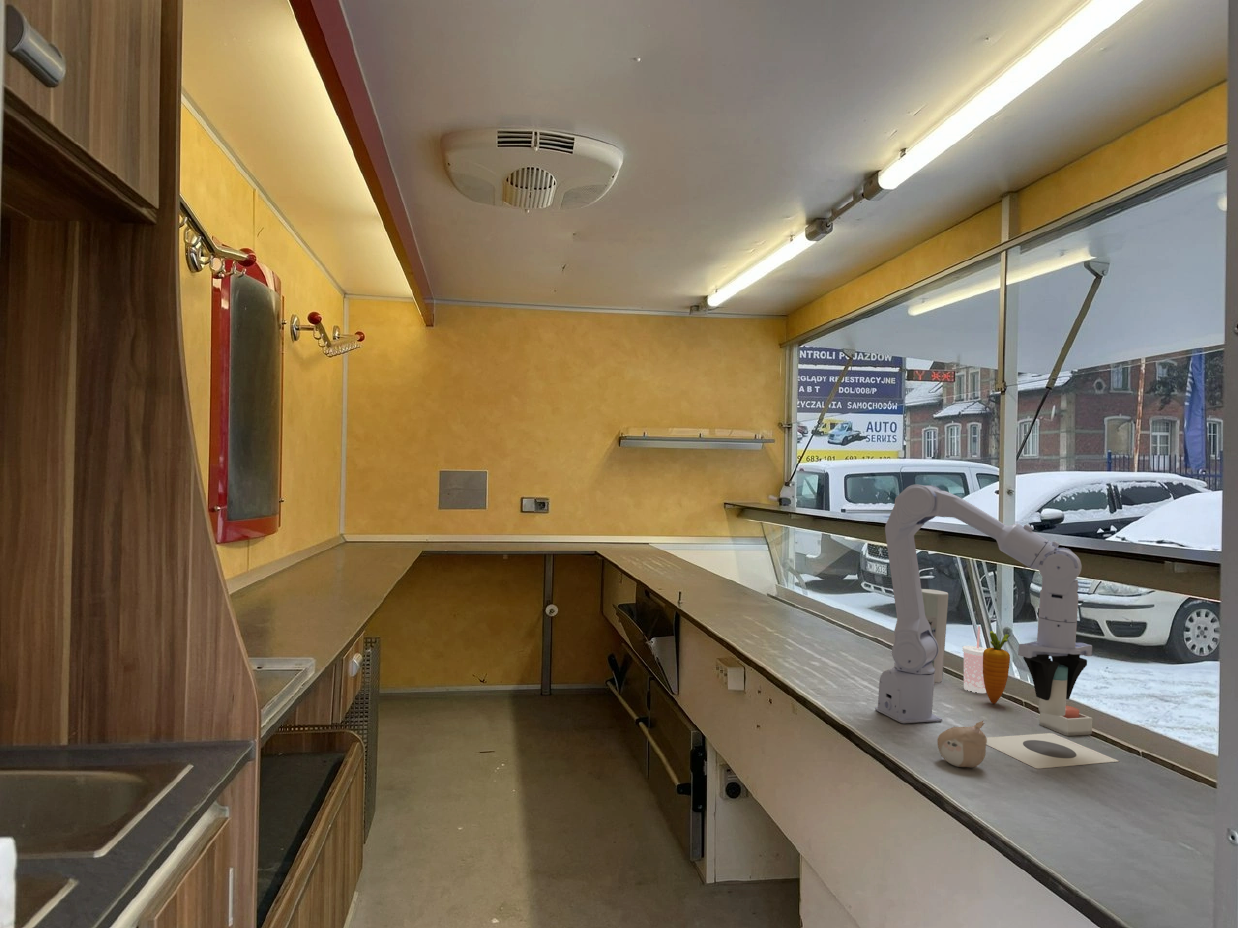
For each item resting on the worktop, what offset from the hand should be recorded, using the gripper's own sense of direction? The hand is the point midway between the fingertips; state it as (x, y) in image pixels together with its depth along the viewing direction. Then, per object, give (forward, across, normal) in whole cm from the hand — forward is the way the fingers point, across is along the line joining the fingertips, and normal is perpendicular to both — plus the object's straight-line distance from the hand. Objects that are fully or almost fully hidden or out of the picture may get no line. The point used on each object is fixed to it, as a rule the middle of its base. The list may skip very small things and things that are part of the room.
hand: (1052, 697), depth 129 cm
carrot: (+9, +11, +23) cm, 27 cm away
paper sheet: (+9, -1, 0) cm, 9 cm away
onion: (+9, -22, -3) cm, 24 cm away
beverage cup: (+9, +15, +32) cm, 36 cm away
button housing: (+9, +13, +8) cm, 18 cm away
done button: (+7, +13, +8) cm, 17 cm away
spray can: (+9, +10, +41) cm, 43 cm away
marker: (+2, 0, 0) cm, 2 cm away
